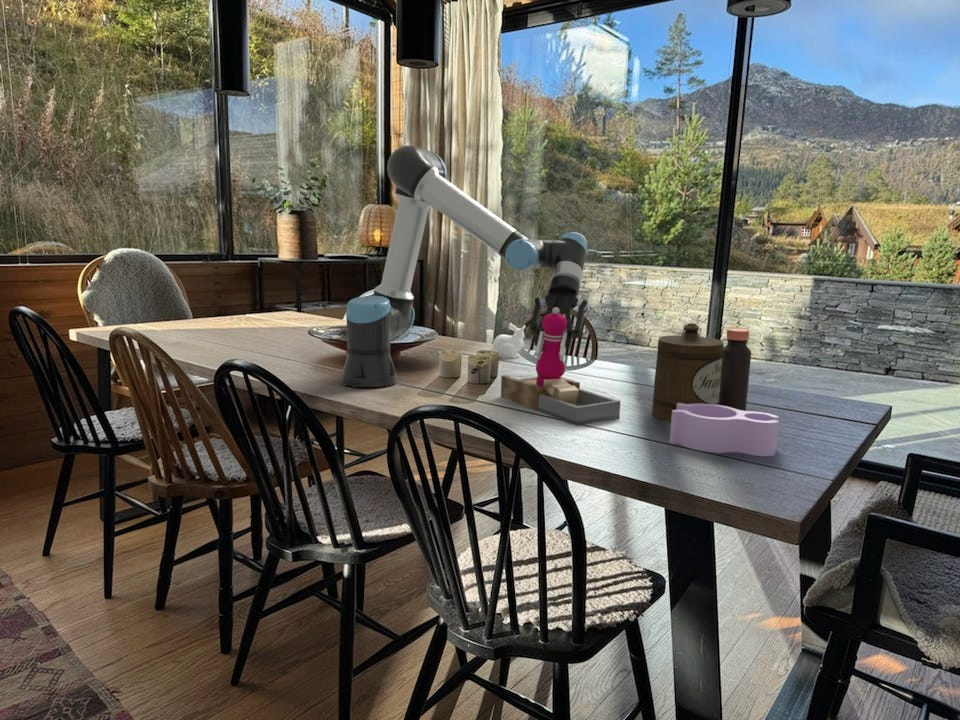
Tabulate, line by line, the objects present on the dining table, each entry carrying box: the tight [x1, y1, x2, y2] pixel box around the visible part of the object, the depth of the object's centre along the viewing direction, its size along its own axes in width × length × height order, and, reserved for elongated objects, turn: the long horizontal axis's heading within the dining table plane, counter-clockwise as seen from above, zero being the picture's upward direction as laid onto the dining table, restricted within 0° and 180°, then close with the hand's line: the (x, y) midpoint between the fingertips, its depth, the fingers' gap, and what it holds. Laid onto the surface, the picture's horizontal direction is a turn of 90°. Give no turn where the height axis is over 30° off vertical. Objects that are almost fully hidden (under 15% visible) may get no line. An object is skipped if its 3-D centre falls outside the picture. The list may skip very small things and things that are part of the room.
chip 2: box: [553, 385, 579, 405], centre depth 160 cm, size 5×5×2 cm
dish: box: [537, 388, 621, 426], centre depth 159 cm, size 14×13×4 cm
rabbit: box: [489, 322, 526, 359], centre depth 228 cm, size 12×9×12 cm
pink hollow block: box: [669, 403, 780, 457], centre depth 138 cm, size 20×12×7 cm, turn 66°
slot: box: [500, 372, 581, 411], centre depth 171 cm, size 16×13×6 cm
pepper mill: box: [535, 307, 567, 387], centre depth 165 cm, size 7×7×20 cm
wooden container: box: [651, 322, 725, 422], centre depth 158 cm, size 15×15×22 cm
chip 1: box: [543, 379, 570, 397], centre depth 163 cm, size 5×5×2 cm
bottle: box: [718, 328, 752, 411], centre depth 163 cm, size 7×7×20 cm
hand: (549, 356), depth 162 cm, fingers closed on pepper mill, 5 cm apart
